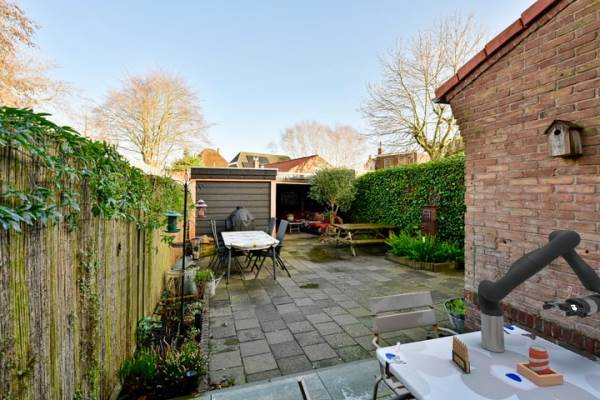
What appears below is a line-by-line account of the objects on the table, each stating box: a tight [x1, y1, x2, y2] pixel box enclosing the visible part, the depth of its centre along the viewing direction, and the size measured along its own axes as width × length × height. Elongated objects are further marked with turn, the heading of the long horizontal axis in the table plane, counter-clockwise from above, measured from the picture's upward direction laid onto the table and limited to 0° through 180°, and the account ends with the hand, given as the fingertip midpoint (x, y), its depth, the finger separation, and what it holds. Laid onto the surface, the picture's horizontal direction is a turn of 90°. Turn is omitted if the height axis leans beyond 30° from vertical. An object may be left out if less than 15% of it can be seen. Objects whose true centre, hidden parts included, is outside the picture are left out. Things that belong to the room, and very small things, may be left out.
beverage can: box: [527, 344, 550, 375], centre depth 116 cm, size 6×6×12 cm
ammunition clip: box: [451, 335, 471, 374], centre depth 125 cm, size 11×2×12 cm, turn 1°
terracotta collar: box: [516, 361, 565, 387], centre depth 115 cm, size 10×10×4 cm
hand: (554, 310), depth 120 cm, fingers open, 8 cm apart
